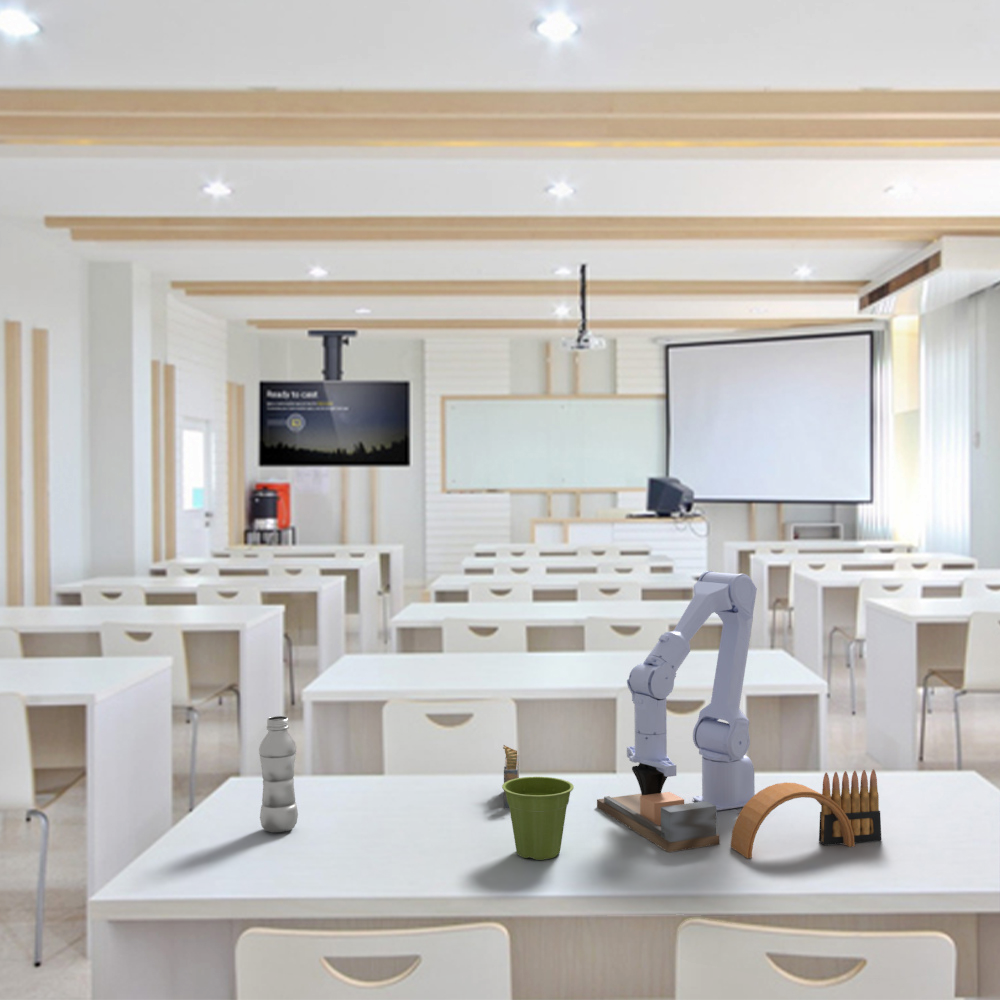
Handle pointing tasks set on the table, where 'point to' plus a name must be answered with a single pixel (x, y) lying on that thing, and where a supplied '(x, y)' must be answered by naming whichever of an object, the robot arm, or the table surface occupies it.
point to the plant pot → (538, 814)
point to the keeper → (657, 805)
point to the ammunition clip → (851, 809)
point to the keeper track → (648, 833)
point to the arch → (769, 801)
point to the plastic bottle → (278, 777)
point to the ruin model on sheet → (510, 768)
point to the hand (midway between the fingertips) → (651, 806)
